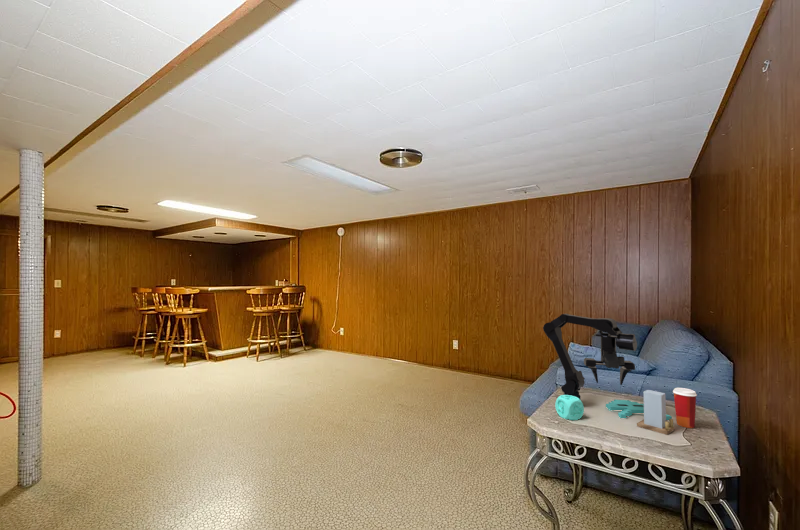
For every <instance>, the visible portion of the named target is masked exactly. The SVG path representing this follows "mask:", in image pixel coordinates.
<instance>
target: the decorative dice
mask: <svg viewBox="0 0 800 530" xmlns="http://www.w3.org/2000/svg"><path fill="white" fill-rule="evenodd" d="M554 405H555V406H554V407H555V410H556V412H557V414H558V416H559V417H560V418H562V419H564V418H565V420H568V419H569V420H568V421H578V419H579V420H580V419H581V418H582V417H583V415H584V412H585V407H584V403H583V401H582V400H580V399H579V398H578V397H575V396H571V395H564V394H561V395H559V396H558V397H557V398H556V400H555V403H554Z"/></svg>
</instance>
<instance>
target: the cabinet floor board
mask: <svg viewBox="0 0 800 530" xmlns="http://www.w3.org/2000/svg"><path fill="white" fill-rule="evenodd" d="M636 427H638V428H642V429H645V430H649V431H652V432H656V433H659V434H664V435H669V434H670V433H672V432H673V431H674V430H675V426H674V419H673V418H672V419H669V421H665V427H664V428H663V429H661V428H658V427H654V426H651V425H647V424H644V418H643V419H642V420H639V421H638V422H636Z"/></svg>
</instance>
